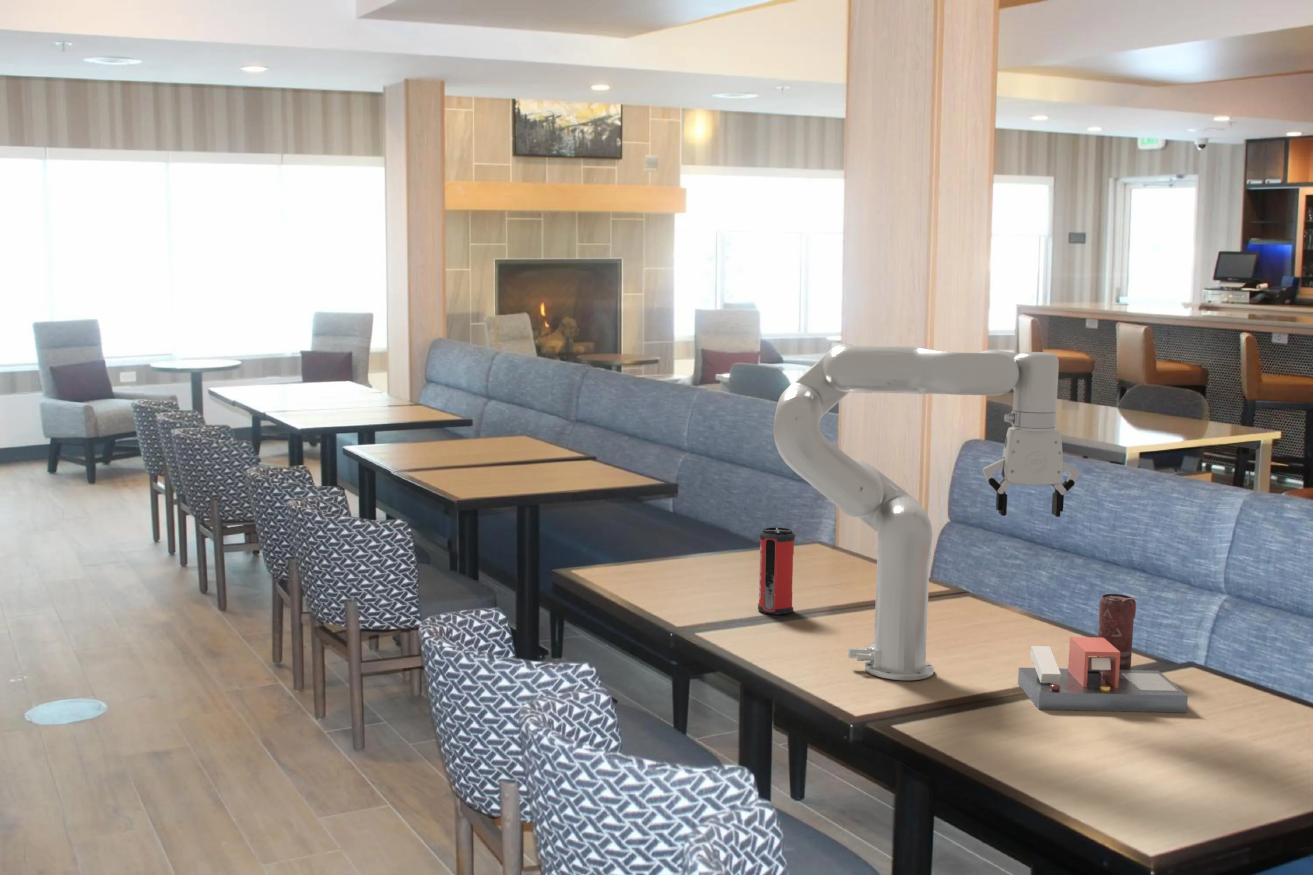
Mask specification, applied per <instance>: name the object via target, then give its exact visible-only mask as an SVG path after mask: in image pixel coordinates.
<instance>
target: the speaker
mask: <svg viewBox="0 0 1313 875" xmlns="http://www.w3.org/2000/svg"><path fill="white" fill-rule="evenodd" d="M759 539H760V541H759V542H760V544H759V546H760V548H759V550H760V551H759V582H758V583H759V584H758V586H759V587H758V603H757V609H758V610H759V611H760V612H761V613H762V612H763V613H762V614H765V615H772V616H781V615H789V614H791V613H792V612H793V611H794V606H793V575H794V574H793V570H794V569H793V567H794V566H793V564H794V562H793V561H794V548H795V546H794V545H795V544H794V543H795V539H796V534H795V532H793V530H792V529H790V528H786V527H766V528H764V529H762V530H761V532H759ZM767 613H769V614H767Z"/></svg>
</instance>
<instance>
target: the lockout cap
mask: <svg viewBox="0 0 1313 875" xmlns="http://www.w3.org/2000/svg"><path fill="white" fill-rule="evenodd" d="M1097 656H1099V657H1109V658H1110V665H1111V670H1108V671H1103V672H1100V673H1101V675H1102V676H1103V677H1104V678H1105V679H1106V680H1107V681H1108V682H1109V683H1110V684H1112V685H1113V686H1114V687H1115V688H1118V684H1119V667H1120V651H1118V650H1117V649H1116V648H1115V647H1114V646H1113V645H1112V644H1110V643H1109V642H1108V641H1107V640H1106V639H1105V638H1098V637H1091V636H1090V637H1084V636H1070V637H1069V650H1068V664H1067V666H1068V667H1067V669H1068V672H1069V673H1070V674H1071V675H1072V676H1073V677H1074V678H1075V679H1076V680H1077V681H1078V682H1079V683H1080V684H1081V685H1082V686H1083V687H1087V674H1088V657H1097Z"/></svg>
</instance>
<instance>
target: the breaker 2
mask: <svg viewBox="0 0 1313 875" xmlns="http://www.w3.org/2000/svg"><path fill="white" fill-rule="evenodd" d="M1108 670H1111V665H1110V658H1109V657H1097V656H1089V657H1088V672H1103V671H1108Z"/></svg>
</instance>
